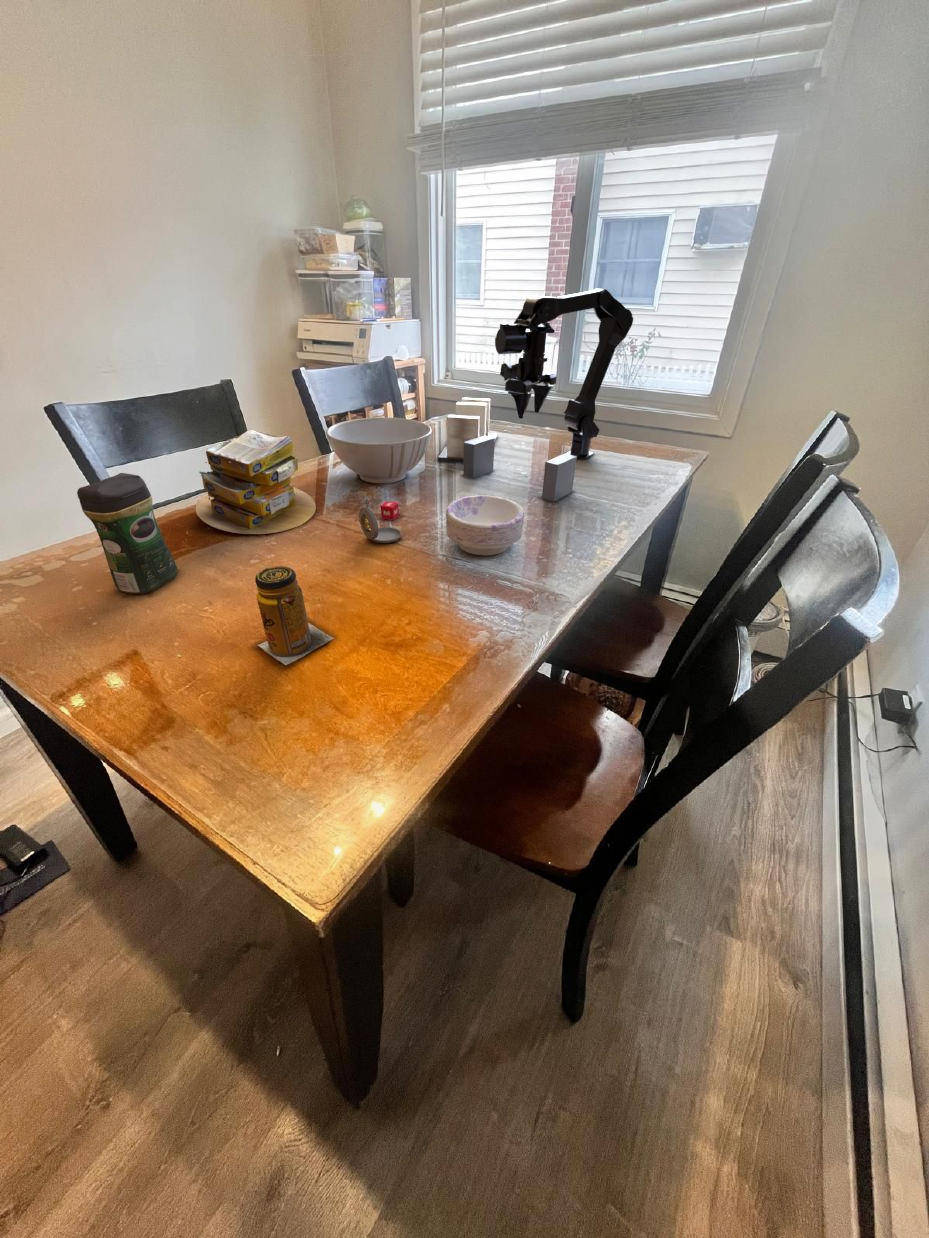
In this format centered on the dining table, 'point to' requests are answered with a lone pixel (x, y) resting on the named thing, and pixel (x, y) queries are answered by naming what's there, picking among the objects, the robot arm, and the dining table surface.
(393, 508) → the dice
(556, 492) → the gray bookends
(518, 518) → the cream and purple bowl
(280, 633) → the condiment
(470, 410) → the white book
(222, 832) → the dining table surface
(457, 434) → the book rack
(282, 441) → the stacked yellow boxes
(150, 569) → the coffee jar
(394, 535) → the pocket watch
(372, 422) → the decorative bowl
